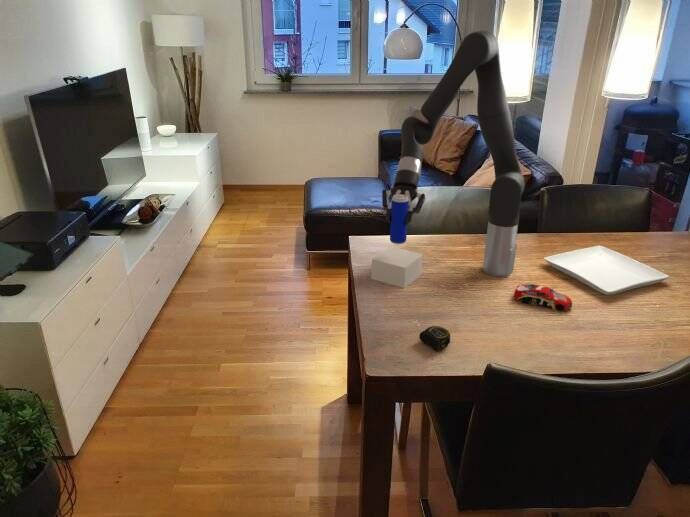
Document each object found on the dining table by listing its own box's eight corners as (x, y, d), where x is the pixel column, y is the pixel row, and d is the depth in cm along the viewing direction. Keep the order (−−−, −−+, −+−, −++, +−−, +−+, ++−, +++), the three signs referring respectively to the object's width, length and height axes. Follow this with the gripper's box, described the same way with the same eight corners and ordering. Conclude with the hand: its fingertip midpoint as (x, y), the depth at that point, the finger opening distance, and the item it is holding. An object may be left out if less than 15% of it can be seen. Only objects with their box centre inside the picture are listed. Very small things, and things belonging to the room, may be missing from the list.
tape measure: (417, 342, 137) (418, 330, 135) (436, 334, 140) (437, 322, 139) (435, 355, 131) (436, 342, 130) (455, 346, 135) (456, 334, 133)
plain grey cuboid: (421, 273, 173) (422, 254, 170) (404, 288, 164) (405, 267, 161) (389, 265, 179) (390, 246, 176) (371, 278, 170) (371, 259, 167)
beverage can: (406, 238, 168) (408, 194, 162) (406, 245, 164) (408, 199, 157) (389, 238, 169) (391, 193, 162) (389, 244, 164) (391, 198, 158)
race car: (572, 304, 155) (575, 290, 153) (569, 315, 150) (572, 300, 147) (516, 292, 162) (518, 277, 160) (511, 301, 156) (513, 286, 154)
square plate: (606, 303, 156) (609, 291, 154) (540, 267, 179) (542, 256, 177) (668, 285, 166) (671, 274, 165) (598, 253, 189) (600, 243, 187)
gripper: (384, 166, 165) (373, 214, 160) (429, 170, 161) (419, 220, 156) (387, 178, 172) (377, 225, 167) (431, 182, 168) (421, 230, 163)
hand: (397, 222), depth 162 cm, fingers closed on beverage can, 5 cm apart
